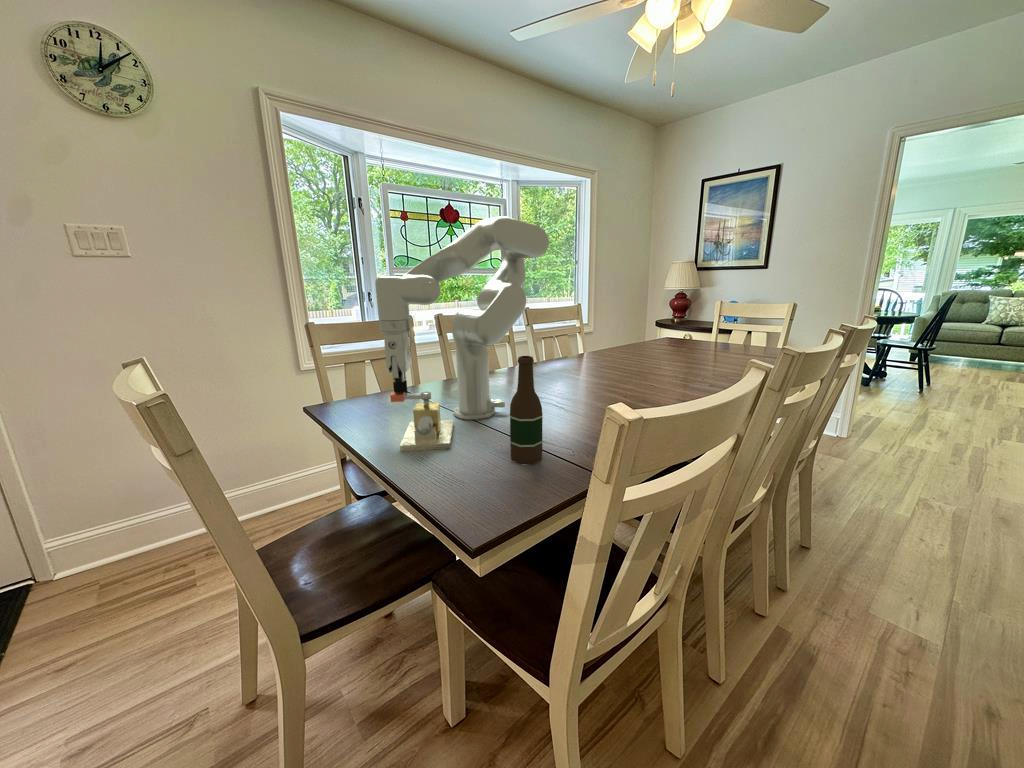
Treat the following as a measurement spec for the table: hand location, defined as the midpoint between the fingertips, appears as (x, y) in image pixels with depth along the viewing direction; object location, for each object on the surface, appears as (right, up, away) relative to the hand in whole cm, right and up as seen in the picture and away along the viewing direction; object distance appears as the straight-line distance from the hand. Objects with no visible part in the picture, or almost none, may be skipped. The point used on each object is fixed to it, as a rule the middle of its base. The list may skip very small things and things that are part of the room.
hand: (401, 395), depth 105 cm
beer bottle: (+33, -14, -13) cm, 38 cm away
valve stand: (+8, -11, -1) cm, 13 cm away
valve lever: (+4, -1, -4) cm, 6 cm away
